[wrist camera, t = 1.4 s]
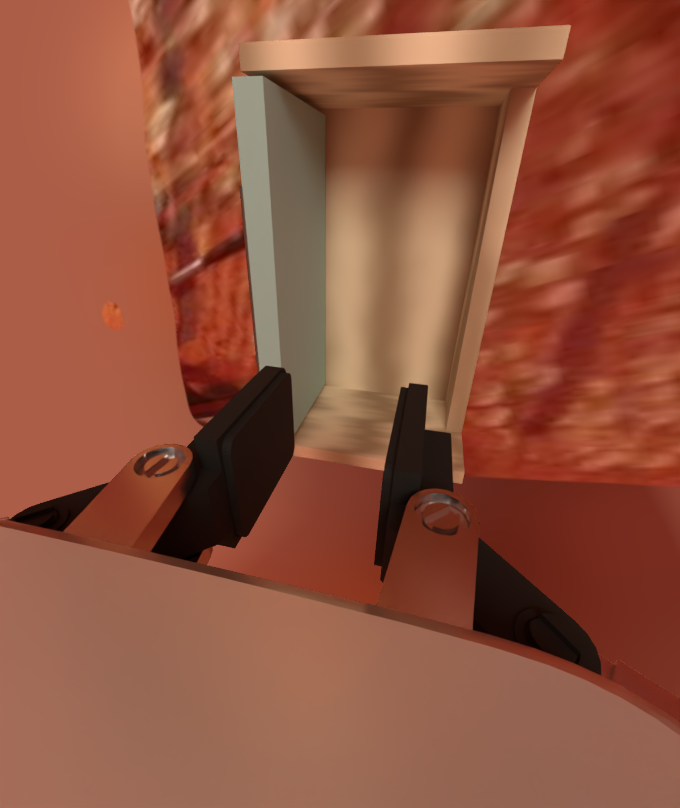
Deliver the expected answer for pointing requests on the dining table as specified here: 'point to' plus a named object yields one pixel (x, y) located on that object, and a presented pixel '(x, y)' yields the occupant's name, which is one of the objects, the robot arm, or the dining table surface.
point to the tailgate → (284, 231)
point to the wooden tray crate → (409, 214)
